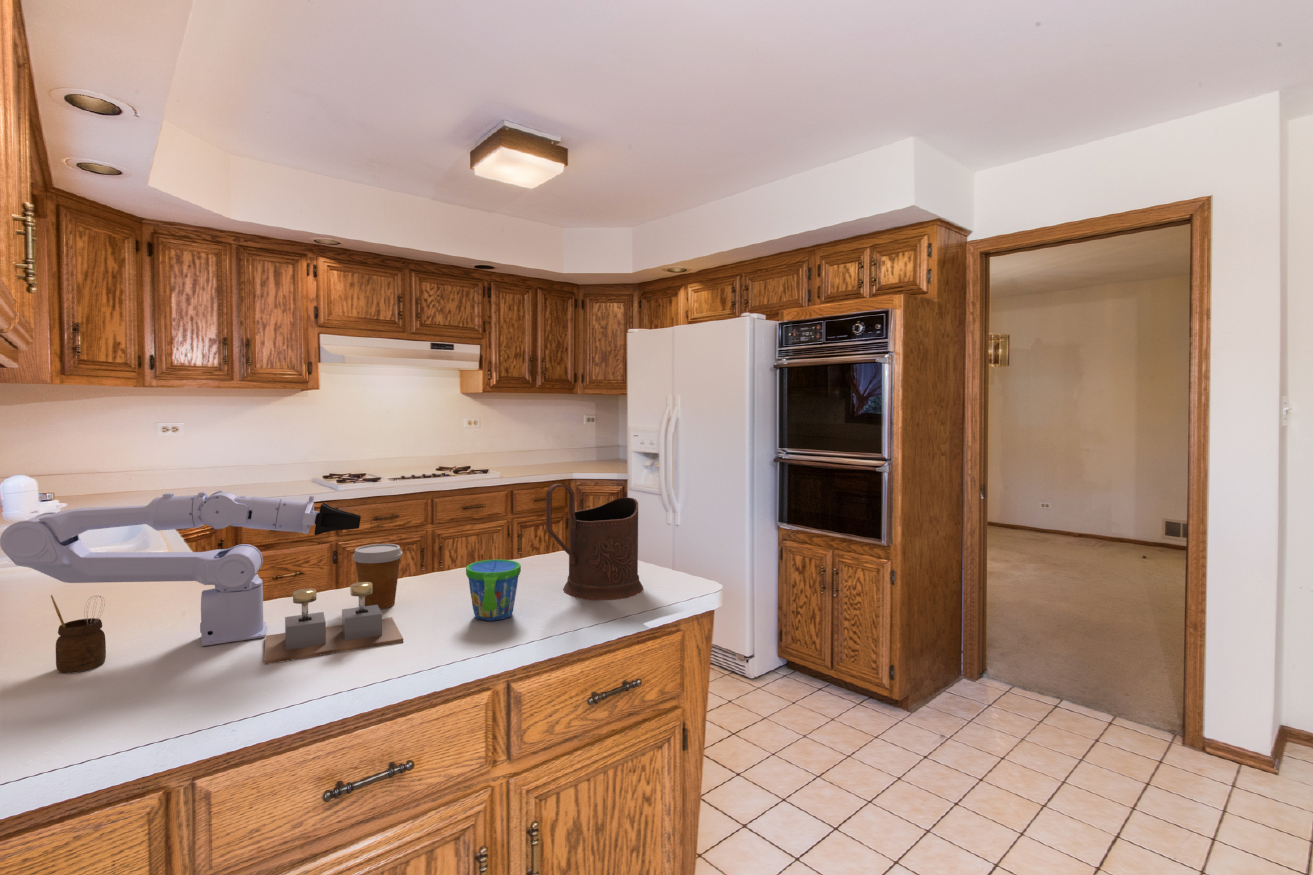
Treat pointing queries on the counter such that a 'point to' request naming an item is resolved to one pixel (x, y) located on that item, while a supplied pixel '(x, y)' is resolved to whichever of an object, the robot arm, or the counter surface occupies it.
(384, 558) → the disposable coffee cup
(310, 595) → the left plunger
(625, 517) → the cup holder
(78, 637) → the utensil holder
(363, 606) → the brass round knob
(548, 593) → the counter surface
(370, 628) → the twin gray blocks
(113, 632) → the counter surface
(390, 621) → the walnut board
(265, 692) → the counter surface
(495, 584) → the snack cup
